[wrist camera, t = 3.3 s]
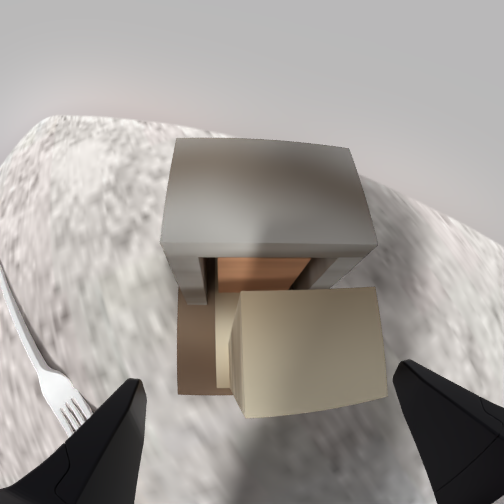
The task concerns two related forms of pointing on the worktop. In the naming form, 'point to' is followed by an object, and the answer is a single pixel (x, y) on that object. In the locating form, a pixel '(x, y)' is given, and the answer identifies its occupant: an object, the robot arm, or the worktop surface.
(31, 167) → the worktop surface
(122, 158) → the worktop surface
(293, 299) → the beige orange stepped block
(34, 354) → the fork
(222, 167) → the tunnel
